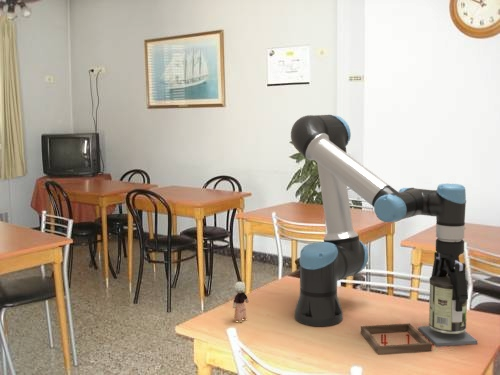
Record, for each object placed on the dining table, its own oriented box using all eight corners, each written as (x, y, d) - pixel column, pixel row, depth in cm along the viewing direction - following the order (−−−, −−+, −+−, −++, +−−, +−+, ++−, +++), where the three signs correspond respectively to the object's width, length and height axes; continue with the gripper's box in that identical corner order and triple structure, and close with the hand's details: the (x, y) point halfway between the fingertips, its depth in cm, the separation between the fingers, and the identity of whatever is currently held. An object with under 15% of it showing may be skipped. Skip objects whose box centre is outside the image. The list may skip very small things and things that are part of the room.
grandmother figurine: (239, 316, 175) (239, 278, 173) (250, 317, 173) (250, 279, 172) (229, 324, 168) (228, 285, 166) (240, 326, 166) (239, 286, 165)
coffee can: (462, 321, 160) (464, 275, 158) (469, 335, 150) (471, 286, 148) (426, 319, 162) (427, 273, 160) (430, 333, 152) (431, 284, 150)
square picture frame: (360, 332, 160) (360, 326, 160) (409, 329, 162) (409, 323, 161) (378, 354, 145) (378, 347, 145) (431, 351, 147) (431, 344, 147)
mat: (418, 329, 161) (418, 326, 161) (456, 327, 163) (456, 324, 163) (436, 346, 150) (436, 343, 149) (477, 344, 151) (477, 340, 151)
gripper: (484, 247, 142) (480, 329, 145) (444, 230, 164) (441, 300, 167) (456, 249, 141) (454, 330, 144) (420, 231, 163) (418, 302, 166)
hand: (447, 314), depth 155 cm, fingers closed on coffee can, 10 cm apart
